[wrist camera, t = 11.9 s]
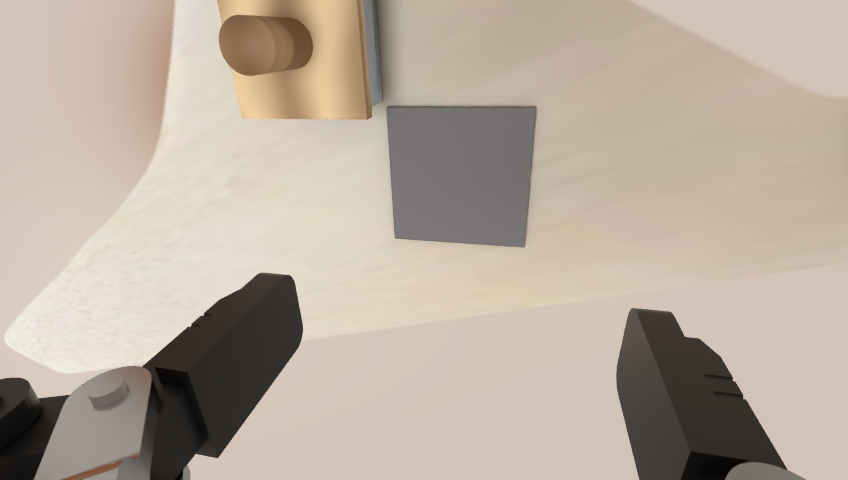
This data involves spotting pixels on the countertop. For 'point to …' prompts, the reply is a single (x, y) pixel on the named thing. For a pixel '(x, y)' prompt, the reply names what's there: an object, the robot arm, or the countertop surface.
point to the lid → (297, 58)
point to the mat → (461, 173)
